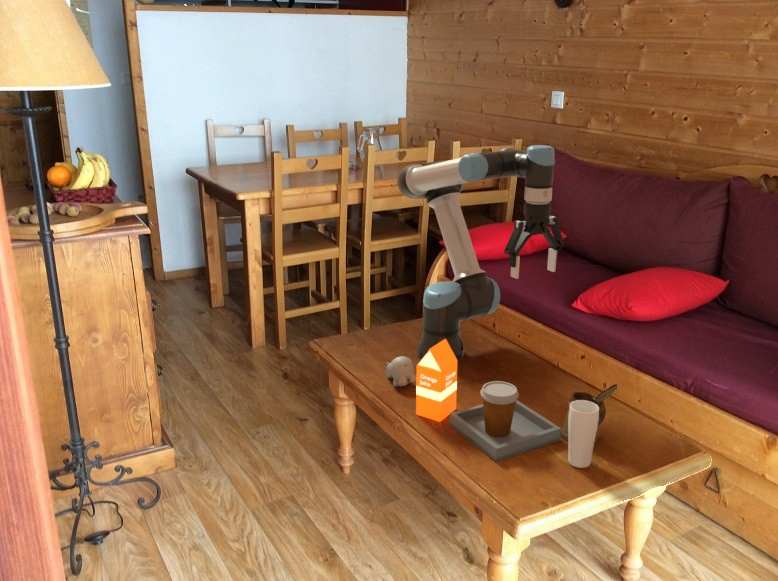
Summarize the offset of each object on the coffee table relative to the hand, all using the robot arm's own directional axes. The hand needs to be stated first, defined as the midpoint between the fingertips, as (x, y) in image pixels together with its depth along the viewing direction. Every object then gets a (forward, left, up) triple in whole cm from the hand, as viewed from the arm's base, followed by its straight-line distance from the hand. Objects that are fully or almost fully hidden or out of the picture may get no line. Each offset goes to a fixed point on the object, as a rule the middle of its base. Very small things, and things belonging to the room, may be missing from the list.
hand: (533, 274), depth 203 cm
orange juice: (+7, -37, -32) cm, 49 cm away
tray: (+25, -28, -32) cm, 49 cm away
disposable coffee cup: (+25, -30, -31) cm, 50 cm away
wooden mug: (+38, -12, -32) cm, 51 cm away
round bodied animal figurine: (-14, -37, -32) cm, 51 cm away
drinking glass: (+45, -21, -32) cm, 59 cm away
